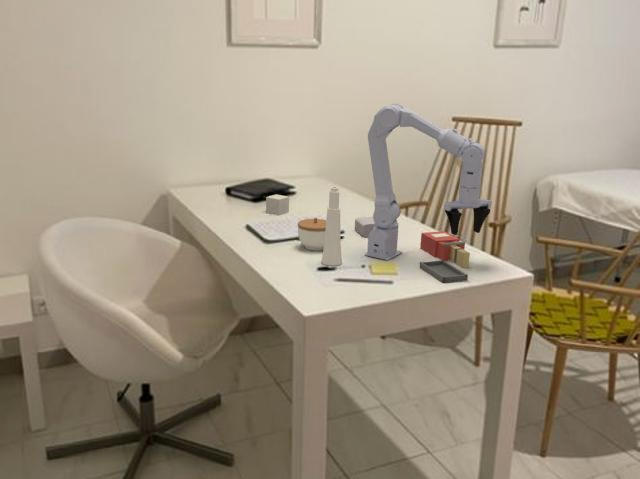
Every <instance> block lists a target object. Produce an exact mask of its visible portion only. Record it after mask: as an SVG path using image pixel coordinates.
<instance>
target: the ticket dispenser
mask: <svg viewBox="0 0 640 479" xmlns="http://www.w3.org/2000/svg"><path fill="white" fill-rule="evenodd" d="M420 234H421V236H420V249H421V250H423V251H424V252H426V253H428V254H429V255H431V256H433V257H434V258H438V259H439V260H444V261H445V262H447V261H449V262H450V260H449V253H450V246H451V245H456V246H458V247H460V248H462V249H464V250H465V246H466V242H465V241H460V238H459V237H456V236H455V235H453V234H452V233H448V232H447V231H444V230H442V231H428V232H421V233H420Z"/></svg>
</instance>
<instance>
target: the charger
mask: <svg viewBox="0 0 640 479" xmlns="http://www.w3.org/2000/svg"><path fill="white" fill-rule="evenodd" d="M373 228H374V219H373V216H362V217H361V216H359V217H356V218H355V219H354V230H355V231H356V232H357V233H359V234H360V236H362V237H363V238H364V239H365V238H367V239H368V235H369V233H370V232H371V231H372V230H373Z"/></svg>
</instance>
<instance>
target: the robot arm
mask: <svg viewBox="0 0 640 479" xmlns="http://www.w3.org/2000/svg"><path fill="white" fill-rule="evenodd" d="M398 127H399V128H409V127H411V128H413V129H415V130H417V131H419V132H420V133H423V134H425V135H427V136H429V137H431V138H432V139H435V140H436V142H437V146H438V147H439V148H441V149H442V150H444V151H446V152H447V153H450V154H451V155H453V156H455V157H456V158H460V160H461V162H462V163H461V170H460V178H459V179H460V180H459V189H458V198H457V199H456V200H453V201H448V202H444V206H443V208H444V212H445V214H446V216H447V220H448V221H449V227H450V234H451V235H453V236H457V235H458V233H459V227H460V225H459V224H460V221H461V218H462V216H463V213H462V212H460V211H459V210H467V209H472V210H473V233H474V232H475V233H477V234H479V233H481V230H482V227H483V224H484V222H485V221H486V219H487V218H488V216H489V215H490V213H491V208H492V200H490V199H480V192H481V187H482V186H481V183H482V176H483V175H482V174H483V171H482V169H483V160H484V159H483V158H484V157H485V149H484V147H483V145H481V144H480V143H479V142H478V141H473V139H472V138H471V137H469V138H467V137H465V136H464V135H462V134H460V133H458V132H459V130H458V129H456V128H453V129H452V128H445V129H442V128H440V127H439V126H437V125H436V124H434V123H433V122H431V121H430V120H428V119H427V118H425V117H424V116H421V115H420V114H418V113H417V112H415V111H413V110H412V109H410V108H408V107H403V106H402V105H401V104H399V103H392V104H390V105H386V106H383V107H381V108H380V110H379V111H377V112H376V114H375V115H374V116H373V121H372V124H371V126H370V128H369V130H368V132H367V141H368V142H367V143H368V149H369V155H370V157H369V158H370V162H371V170H372V176H373V184H374V191H375V198H374V211H373V214H372V217H373V219H374V228H373V230H372V231H371V232H370V233H369V235H368V238H367V251H366V252H365V253H364V256H366V257H371V258H376V259H380V260H384V261H390V260H391V259H393V258H394V257H397V256H398V255H401V254H403V251H402V250H398V237H399V225H400V224H399V222H398V220H397V219H398V218H399V217H400V216H401V211H402V210H401V206H400V205H399V203H398V201H397V198H396V197H397V196H396V194H395V192H394V189H393V182H392V175H391V168H390V160H389V152H388V146H387V138H388V136H389V135H390V134H391V133H392V132H393V130H395V129H396V128H398Z"/></svg>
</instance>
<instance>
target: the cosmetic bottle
mask: <svg viewBox="0 0 640 479" xmlns="http://www.w3.org/2000/svg"><path fill="white" fill-rule="evenodd" d="M339 189H340V188H339V187H337V186H331V187H330V190H329V194H328V195H329V196H328V207H327V211H326V217H325V220H326V230H325V241H324V249H323V250H322V251H323V252H322V256H321V261H320V262H321V264H323V265H325V266H330V267H331V266H332V267H337V266H340V265H342V264H343V258H342V245H341V244H342V243H341V208H340V191H339Z"/></svg>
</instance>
